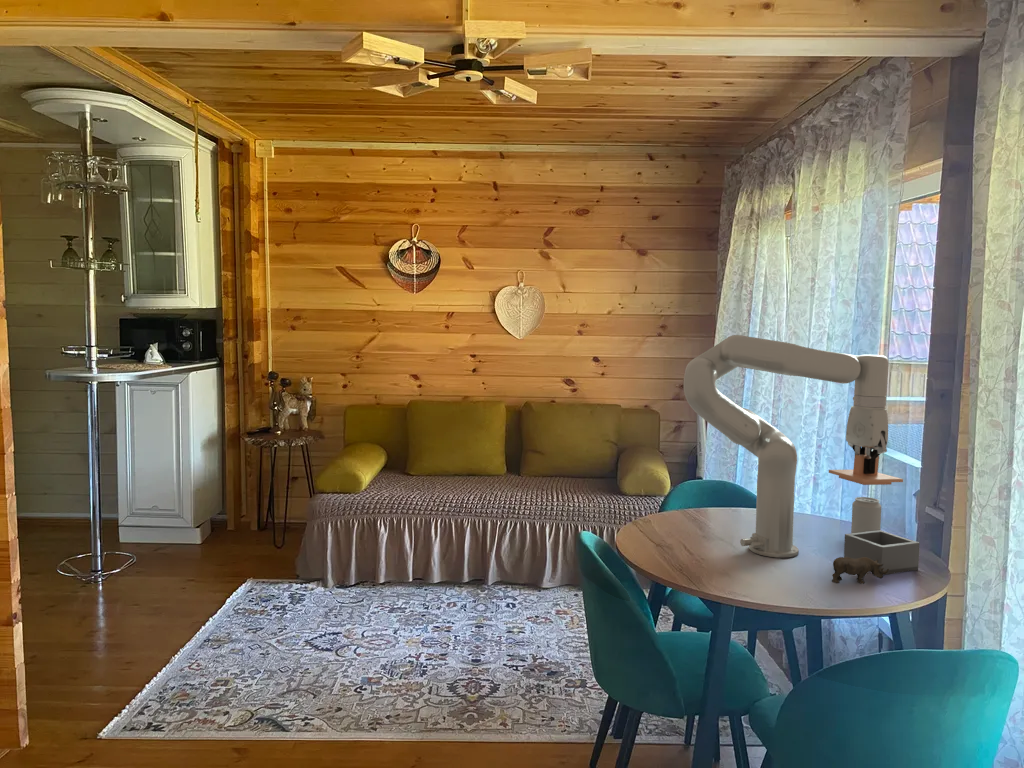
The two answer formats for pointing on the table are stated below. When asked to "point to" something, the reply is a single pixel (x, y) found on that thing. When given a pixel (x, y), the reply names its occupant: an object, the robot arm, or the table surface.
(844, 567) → the rhino figurine
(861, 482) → the lid
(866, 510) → the can
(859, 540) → the tub
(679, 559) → the table surface
